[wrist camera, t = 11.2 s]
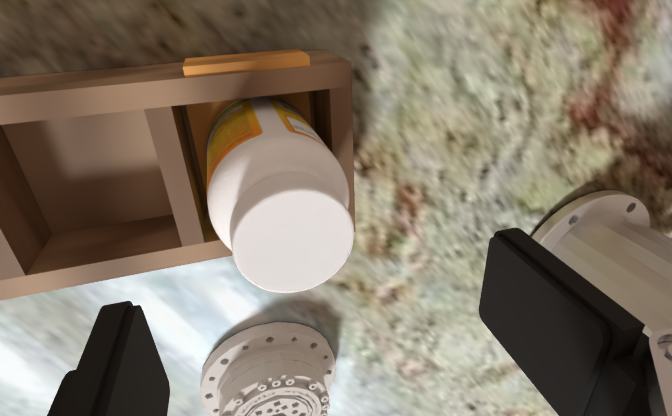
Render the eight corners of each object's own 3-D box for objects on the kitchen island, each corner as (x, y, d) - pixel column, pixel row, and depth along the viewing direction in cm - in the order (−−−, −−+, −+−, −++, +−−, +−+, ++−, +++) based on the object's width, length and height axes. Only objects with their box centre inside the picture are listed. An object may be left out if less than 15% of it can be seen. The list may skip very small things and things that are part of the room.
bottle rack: (323, 41, 20) (350, 52, 17) (332, 195, 25) (355, 231, 21) (-266, 89, 15) (-423, 121, 12) (-126, 273, 20) (-206, 340, 16)
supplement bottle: (213, 196, 21) (217, 323, 13) (200, 95, 19) (195, 174, 11) (310, 187, 23) (369, 297, 15) (311, 91, 20) (382, 159, 12)
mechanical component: (334, 308, 30) (193, 330, 27) (352, 354, 26) (191, 385, 23) (328, 398, 34) (207, 424, 32) (343, 447, 31) (207, 482, 28)
